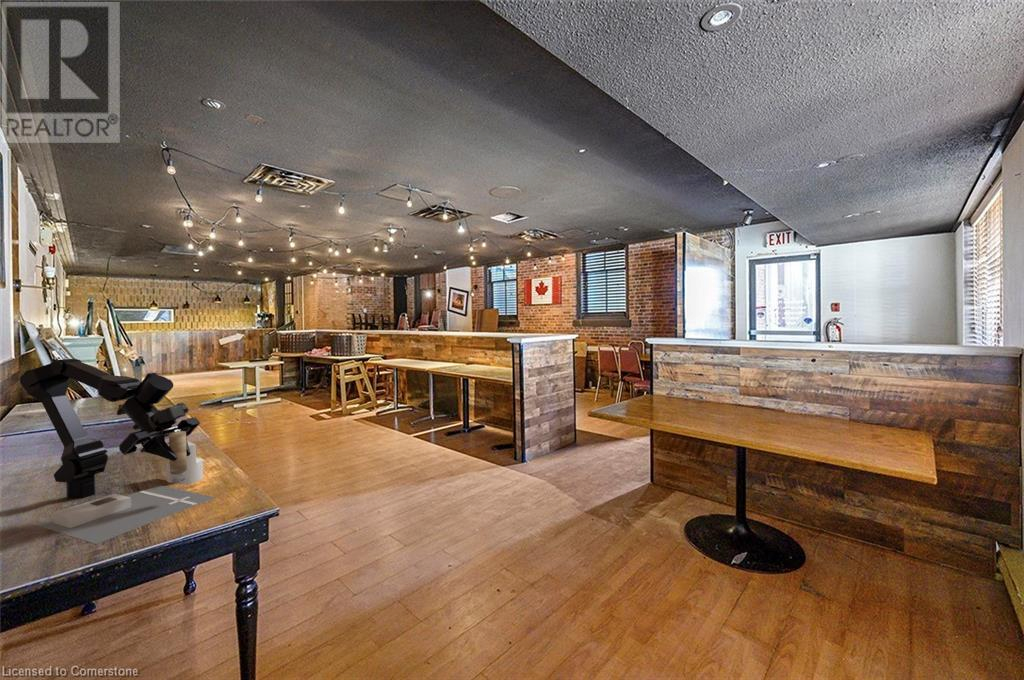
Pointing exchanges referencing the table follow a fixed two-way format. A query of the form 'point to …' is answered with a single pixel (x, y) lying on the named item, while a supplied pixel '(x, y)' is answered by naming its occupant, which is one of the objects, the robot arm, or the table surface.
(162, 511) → the floor panel
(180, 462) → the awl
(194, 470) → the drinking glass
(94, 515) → the white flat block
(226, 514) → the table surface
